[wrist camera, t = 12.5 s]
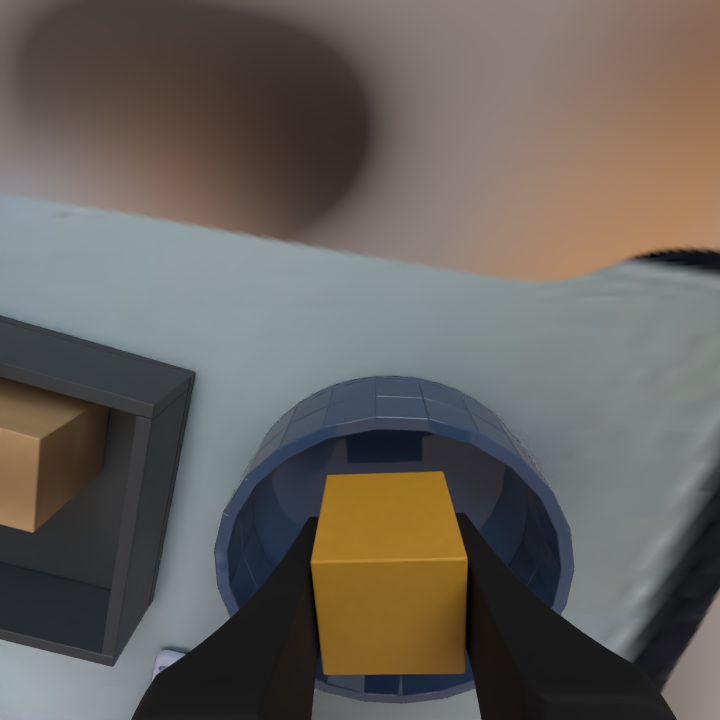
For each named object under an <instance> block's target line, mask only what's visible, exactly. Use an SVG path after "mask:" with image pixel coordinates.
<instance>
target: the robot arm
mask: <svg viewBox="0 0 720 720" xmlns="http://www.w3.org/2000/svg"><path fill="white" fill-rule="evenodd" d="M455 515H456V519H457V522H458V526H459V529H460V533H461V537H462V540H463V544H464V547H465V551H466V554H467V558H468V572H467V612H466V650H467V654H468V657H469V661H470V665H471V669H472V673H473V677H474V682H475V687H476V692H477V698H478V703H479V708H480V714H481V719H482V720H677V719H676V717H675V716H674V714H673V712H672V711H671V709H670V707H669V706H668V704H667V703H666V701H665V700H664V698H663V697H662V695H661V694H660V692H659V691H658V689H657V688H656V687H655V685H654V684H653V683H652V681H651V680H650V679H649V677H648V676H647V675H646V673H645V672H644V670H642V669H641V668H639V667H637V666H636V665H634V664H632V663H631V662H629V661H627V660H625V659H624V658H622V657H620V656H619V655H617V654H615V653H614V652H612V651H610V650H609V649H607V648H605V647H604V646H602V645H601V644H599V643H598V642H596V641H595V640H593V639H592V638H590V637H589V636H587V635H586V634H584V633H583V632H582V631H580V630H579V629H577V628H576V627H575V626H573V625H572V624H571V623H569V622H568V621H567V620H566V619H564V618H563V617H562V616H560V615H559V614H558V613H556V612H555V611H554V610H553V609H551V608H550V607H549V606H548V605H547V604H546V603H544V602H543V601H542V600H541V599H540V598H539V597H538V596H537V595H535V594H534V593H533V592H532V591H531V590H530V589H529V588H528V587H527V586H526V585H525V584H524V583H523V582H522V581H521V580H520V579H519V578H518V577H517V576H516V575H515V574H514V573H513V572H512V571H511V570H510V569H509V567H508V566H507V565H506V564H505V563H504V562H503V561H502V560H501V558H500V557H499V556H498V555H497V554H496V552H495V551H494V550H493V549H492V548H491V547H490V545H489V544H488V543H487V542H486V540H485V539H484V538H483V536H482V535H481V534H480V532H479V531H478V530H477V528H476V527H475V526H474V524H473V523H472V521H471V520H470V518H469V517H468V516H467V515H466V514H465V513H455ZM318 520H319V517H309V518H308V519H307V521H306V523H305V524H304V526H303V528H302V530H301V531H300V533H299V534H298V536H297V538H296V539H295V541H294V542H293V544H292V545H291V547H290V548H289V550H288V551H287V553H286V554H285V556H284V557H283V558H282V560H281V561H280V563H279V564H278V565H277V567H276V568H275V569H274V570H273V572H272V573H271V574H270V576H269V577H268V578H267V579H266V581H265V582H264V583H263V584H262V585H261V587H260V588H259V589H258V590H257V591H256V592H255V593H254V595H253V596H252V597H251V598H250V599H249V600H248V601H247V602H246V603H245V604H244V605H243V606H242V607H241V608H240V609H239V610H238V611H237V612H236V613H235V614H234V615H233V616H232V617H231V618H230V619H229V620H228V621H227V622H226V623H225V624H224V625H222V626H221V627H220V628H219V629H218V630H217V631H215V632H214V633H213V634H212V635H211V636H209V637H208V638H207V639H206V640H205V641H203V642H202V643H201V644H199V645H198V646H197V647H196V648H194V649H193V650H192V651H190V652H189V653H187V654H183V653H179V652H175V651H171V650H162V651H161V652H159V654H158V656H157V658H156V661H155V666H154V671H153V676H152V681H151V684H150V686H149V688H148V689H147V691H146V692H145V694H144V696H143V698H142V699H141V701H140V703H139V705H138V707H137V709H136V711H135V713H134V715H133V717H132V719H131V720H311V716H312V706H313V695H314V685H315V677H316V670H317V664H318V659H319V653H320V642H319V634H318V625H317V616H316V607H315V599H314V590H313V581H312V572H311V564H310V561H311V556H312V551H313V546H314V540H315V535H316V530H317V525H318Z"/></svg>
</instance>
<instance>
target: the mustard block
mask: <svg viewBox="0 0 720 720" xmlns="http://www.w3.org/2000/svg"><path fill="white" fill-rule="evenodd" d="M310 564H311V572H312V581H313V590H314V599H315V607H316V616H317V625H318V634H319V642H320V651H321V660H322V669H323V674H325V675H380V674H463V673H464V672H465V653H466V612H467V572H468V558H467V554H466V551H465V547H464V544H463V540H462V537H461V533H460V529H459V526H458V522H457V519H456V515H455V512H454V508H453V505H452V501H451V498H450V494H449V491H448V487H447V484H446V480H445V476H444V473H443V472H442V471H434V472H403V473H371V474H339V475H327V478H326V483H325V488H324V494H323V499H322V504H321V509H320V514H319V520H318V525H317V530H316V535H315V540H314V546H313V551H312V556H311V561H310Z"/></svg>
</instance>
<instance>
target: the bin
mask: <svg viewBox="0 0 720 720" xmlns="http://www.w3.org/2000/svg"><path fill="white" fill-rule="evenodd" d="M0 377H3V378H7V379H11V380H14V381H18V382H21V383H25V384H28V385H32V386H36V387H39V388H43V389H46V390H50V391H53V392H57V393H61V394H64V395H68V396H71V397H75V398H78V399H82V400H85V401H89V402H93V403H96V404H100V405H103V406H107V407H109V415H108V423H107V431H106V439H105V448H104V456H103V464H102V471H101V473H99V474H98V475H97V476H96V477H95V478H94V479H93V480H92V481H91V482H89V483H88V484H87V485H86V486H85V487H84V488H83V489H82V490H80V491H79V492H78V493H77V494H76V495H75V496H74V497H73V498H72V499H70V500H69V501H68V502H67V503H66V504H65V505H64V506H63V507H61V508H60V509H59V510H58V511H57V512H56V513H55V514H54V515H53V516H51V517H50V518H49V519H48V520H47V521H46V522H45V523H44V524H43V525H41V526H40V527H39V528H38V529H37V530H36V531H35V532H28V531H24V530H20V529H17V528H13V527H9V526H5V525H1V524H0V639H2V640H6V641H10V642H14V643H18V644H22V645H26V646H30V647H34V648H38V649H42V650H46V651H50V652H54V653H59V654H63V655H67V656H71V657H75V658H79V659H83V660H87V661H91V662H95V663H99V664H103V665H107V666H112V667H113V666H114V664H115V663H116V661H117V659H118V658H119V656H120V654H121V653H122V651H123V649H124V647H125V646H126V644H127V642H128V641H129V639H130V637H131V636H132V634H133V632H134V631H135V629H136V627H137V626H138V624H139V622H140V621H141V619H142V617H143V616H144V614H145V612H146V611H147V609H148V607H149V605H150V604H151V602H152V600H153V596H154V590H155V585H156V580H157V574H158V569H159V564H160V558H161V553H162V548H163V542H164V537H165V532H166V526H167V521H168V516H169V511H170V505H171V500H172V495H173V489H174V484H175V479H176V473H177V468H178V463H179V457H180V452H181V447H182V441H183V436H184V431H185V425H186V420H187V415H188V409H189V404H190V399H191V393H192V388H193V383H194V377H195V372H193V371H190V370H186V369H183V368H179V367H176V366H173V365H169V364H166V363H162V362H159V361H155V360H152V359H148V358H145V357H141V356H138V355H134V354H131V353H127V352H124V351H121V350H117V349H114V348H110V347H107V346H103V345H100V344H96V343H93V342H89V341H86V340H82V339H79V338H76V337H72V336H69V335H65V334H62V333H58V332H55V331H51V330H48V329H44V328H41V327H37V326H34V325H30V324H27V323H24V322H20V321H17V320H13V319H10V318H6V317H3V316H0Z"/></svg>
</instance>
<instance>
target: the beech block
mask: <svg viewBox="0 0 720 720" xmlns="http://www.w3.org/2000/svg"><path fill="white" fill-rule="evenodd" d="M108 415H109V407H107V406H103V405H100V404H96V403H93V402H89V401H85V400H82V399H78V398H75V397H71V396H68V395H64V394H61V393H57V392H53V391H50V390H46V389H43V388H39V387H36V386H32V385H28V384H25V383H21V382H18V381H14V380H11V379H7V378H3V377H0V524H1V525H5V526H9V527H13V528H17V529H20V530H24V531H28V532H35V531H36V530H37V529H38V528H39V527H40V526H41V525H43V524H44V523H45V522H46V521H47V520H48V519H49V518H50V517H51V516H53V515H54V514H55V513H56V512H57V511H58V510H59V509H60V508H61V507H63V506H64V505H65V504H66V503H67V502H68V501H69V500H70V499H72V498H73V497H74V496H75V495H76V494H77V493H78V492H79V491H80V490H82V489H83V488H84V487H85V486H86V485H87V484H88V483H89V482H91V481H92V480H93V479H94V478H95V477H96V476H97V475H98V474H99V473H101V471H102V464H103V456H104V448H105V439H106V431H107V423H108Z"/></svg>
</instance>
